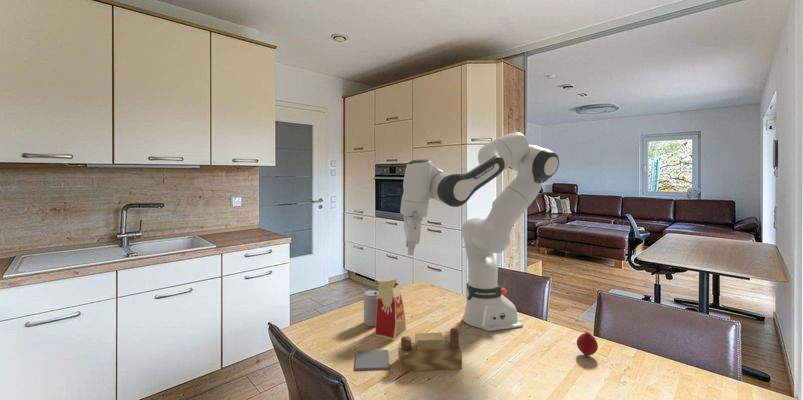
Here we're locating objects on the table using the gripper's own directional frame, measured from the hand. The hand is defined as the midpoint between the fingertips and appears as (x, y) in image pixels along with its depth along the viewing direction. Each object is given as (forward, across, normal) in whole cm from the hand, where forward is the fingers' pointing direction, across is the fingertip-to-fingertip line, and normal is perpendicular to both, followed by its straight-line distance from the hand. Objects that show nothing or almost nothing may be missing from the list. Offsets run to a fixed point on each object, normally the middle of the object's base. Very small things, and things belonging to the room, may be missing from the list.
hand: (409, 250), depth 117 cm
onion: (+25, -12, -58) cm, 65 cm away
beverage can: (+33, +14, +9) cm, 37 cm away
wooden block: (+25, -14, -8) cm, 30 cm away
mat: (+32, -12, +8) cm, 35 cm away
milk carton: (+32, +6, +3) cm, 33 cm away
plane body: (+30, -14, -8) cm, 34 cm away
